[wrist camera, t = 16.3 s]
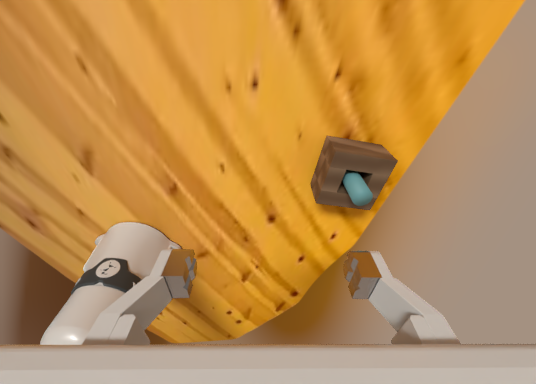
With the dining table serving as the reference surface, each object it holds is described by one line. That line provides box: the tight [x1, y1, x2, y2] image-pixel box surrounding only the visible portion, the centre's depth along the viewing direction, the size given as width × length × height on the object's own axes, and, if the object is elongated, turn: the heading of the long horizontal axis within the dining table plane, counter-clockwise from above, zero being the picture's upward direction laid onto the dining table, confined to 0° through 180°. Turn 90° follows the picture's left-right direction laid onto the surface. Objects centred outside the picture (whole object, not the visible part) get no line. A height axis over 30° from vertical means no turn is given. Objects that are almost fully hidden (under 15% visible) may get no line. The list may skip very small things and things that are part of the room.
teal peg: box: [342, 170, 373, 206], centre depth 38 cm, size 3×3×10 cm
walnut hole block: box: [311, 136, 398, 210], centre depth 40 cm, size 10×10×6 cm
